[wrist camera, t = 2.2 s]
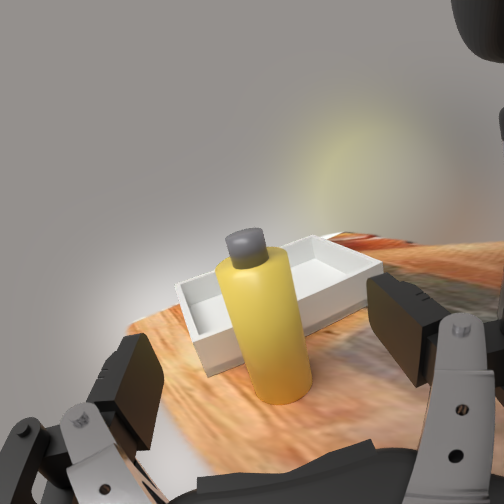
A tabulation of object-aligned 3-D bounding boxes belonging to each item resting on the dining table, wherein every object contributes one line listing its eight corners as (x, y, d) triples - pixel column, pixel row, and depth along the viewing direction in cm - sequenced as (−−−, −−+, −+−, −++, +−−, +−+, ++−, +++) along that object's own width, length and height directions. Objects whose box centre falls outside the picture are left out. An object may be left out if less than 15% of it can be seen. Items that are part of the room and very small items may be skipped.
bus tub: (317, 261, 49) (312, 234, 47) (384, 296, 34) (382, 261, 33) (184, 312, 43) (173, 284, 42) (207, 377, 29) (192, 342, 27)
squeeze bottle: (296, 357, 29) (264, 217, 24) (323, 387, 24) (294, 229, 19) (247, 378, 27) (200, 239, 23) (267, 413, 23) (216, 256, 18)
